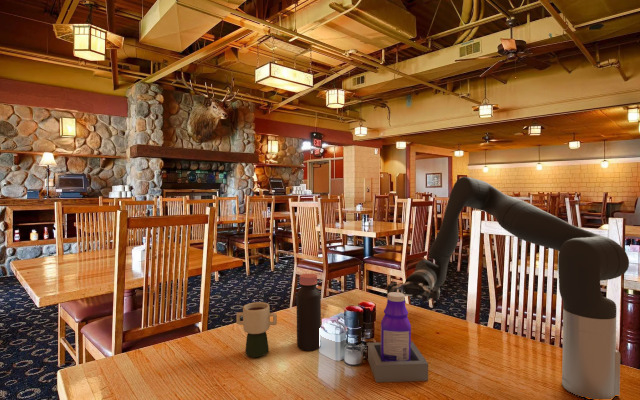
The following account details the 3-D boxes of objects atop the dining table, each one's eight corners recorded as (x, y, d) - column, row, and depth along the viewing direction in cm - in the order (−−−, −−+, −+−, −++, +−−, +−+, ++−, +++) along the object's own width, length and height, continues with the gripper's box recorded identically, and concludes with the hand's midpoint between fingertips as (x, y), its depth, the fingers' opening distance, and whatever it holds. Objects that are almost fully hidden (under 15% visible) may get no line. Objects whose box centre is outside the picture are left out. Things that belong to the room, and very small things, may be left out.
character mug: (279, 348, 101) (278, 302, 101) (274, 360, 94) (274, 310, 93) (240, 347, 102) (240, 301, 101) (233, 359, 95) (232, 310, 94)
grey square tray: (412, 356, 96) (412, 341, 95) (428, 380, 84) (428, 363, 83) (367, 357, 95) (367, 342, 95) (376, 382, 83) (376, 365, 83)
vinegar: (321, 351, 99) (320, 278, 98) (296, 351, 99) (295, 278, 98) (321, 340, 106) (320, 272, 105) (297, 341, 106) (296, 272, 105)
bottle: (409, 359, 92) (409, 290, 91) (412, 370, 86) (412, 297, 86) (379, 358, 93) (379, 290, 92) (381, 369, 87) (381, 297, 86)
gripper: (397, 269, 116) (381, 280, 102) (444, 273, 109) (434, 286, 95) (397, 293, 116) (381, 307, 102) (444, 298, 110) (434, 314, 95)
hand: (407, 297), depth 98 cm, fingers open, 8 cm apart
